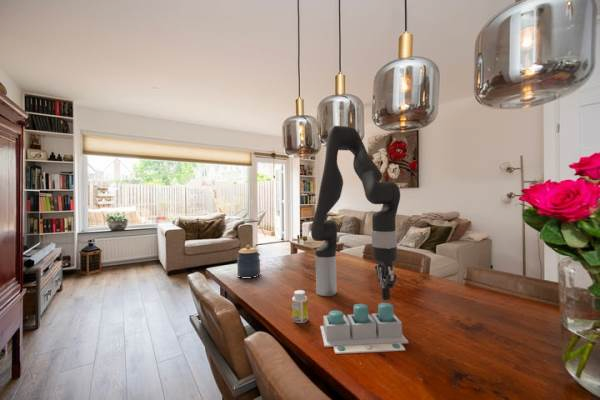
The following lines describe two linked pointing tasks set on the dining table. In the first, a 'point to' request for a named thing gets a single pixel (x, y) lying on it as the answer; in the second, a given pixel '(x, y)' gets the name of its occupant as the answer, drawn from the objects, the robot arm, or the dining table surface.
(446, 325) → the dining table surface
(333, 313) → the button
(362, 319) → the button
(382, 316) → the button
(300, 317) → the supplement bottle
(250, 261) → the canister
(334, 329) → the board
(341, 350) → the card
